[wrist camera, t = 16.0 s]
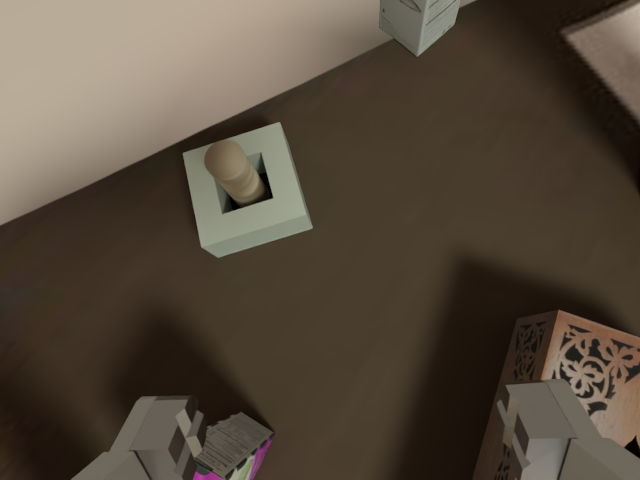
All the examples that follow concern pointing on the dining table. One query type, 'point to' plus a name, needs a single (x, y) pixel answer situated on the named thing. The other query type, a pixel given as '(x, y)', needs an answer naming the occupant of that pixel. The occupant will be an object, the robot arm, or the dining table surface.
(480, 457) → the tissue box cover
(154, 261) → the dining table surface
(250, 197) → the peg
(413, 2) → the supplement box
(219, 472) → the candy bar box
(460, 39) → the dining table surface
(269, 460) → the dining table surface
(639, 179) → the dining table surface
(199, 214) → the socket block
